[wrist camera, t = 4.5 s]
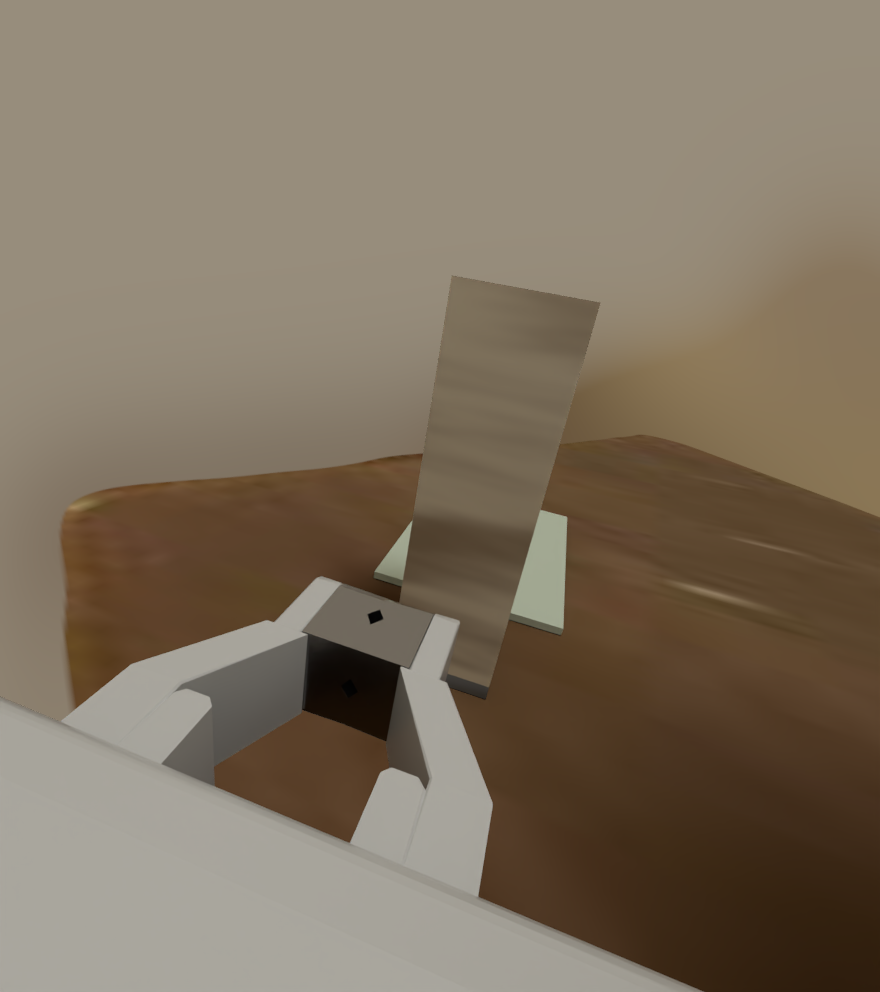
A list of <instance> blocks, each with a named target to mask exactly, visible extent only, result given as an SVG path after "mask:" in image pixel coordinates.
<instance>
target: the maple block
mask: <svg viewBox="0 0 880 992" xmlns="http://www.w3.org/2000/svg"><path fill="white" fill-rule="evenodd" d="M599 306H600V303H599V302H593V301H588V300H583V299H577V298H572V297H566V296H560V295H555V294H550V293H544V292H539V291H534V290H528V289H522V288H517V287H512V286H506V285H501V284H495V283H490V282H484V281H479V280H474V279H468V278H463V277H457V276H452V278H451V284H450V291H449V296H448V303H447V309H446V315H445V321H444V328H443V334H442V340H441V346H440V352H439V358H438V365H437V371H436V377H435V383H434V390H433V396H432V402H431V408H430V415H429V421H428V427H427V433H426V440H425V446H424V452H423V458H422V464H421V471H420V477H419V483H418V489H417V495H416V502H415V508H414V514H413V520H412V527H411V533H410V539H409V545H408V552H407V558H406V564H405V570H404V576H403V583H402V589H401V595H400V601H399V603H402V604H405V605H408V606H411V607H414V608H417V609H421V610H424V611H427V612H430V613H433V614H439V615H443V616H446V617H449V618H453V619H456V620H459V621H460V627H459V631H458V635H457V639H456V643H455V647H454V651H453V655H452V659H451V663H450V667H449V670H448V674H447V677H446V681H445V682H446V683H447V684H448V686H449V687H450V688H453V689H456V690H459V691H462V692H465V693H468V694H471V695H474V696H477V697H480V698H483V699H486V696H487V692H488V689H489V686H490V682H491V679H492V675H493V672H494V668H495V665H496V661H497V658H498V654H499V651H500V648H501V644H502V641H503V637H504V634H505V630H506V627H507V623H508V620H509V616H510V613H511V610H512V606H513V603H514V599H515V596H516V592H517V589H518V585H519V582H520V579H521V575H522V572H523V568H524V565H525V561H526V558H527V554H528V551H529V547H530V544H531V541H532V537H533V534H534V530H535V527H536V523H537V520H538V516H539V513H540V509H541V506H542V503H543V499H544V496H545V492H546V489H547V485H548V482H549V478H550V475H551V472H552V468H553V465H554V461H555V458H556V454H557V451H558V447H559V444H560V440H561V437H562V434H563V430H564V427H565V423H566V420H567V416H568V412H569V409H570V406H571V402H572V399H573V395H574V392H575V388H576V385H577V382H578V378H579V375H580V371H581V368H582V364H583V361H584V357H585V354H586V351H587V347H588V344H589V340H590V337H591V333H592V329H593V326H594V323H595V320H596V316H597V313H598V309H599Z"/></svg>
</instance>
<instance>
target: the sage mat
mask: <svg viewBox="0 0 880 992" xmlns="http://www.w3.org/2000/svg"><path fill="white" fill-rule="evenodd" d="M411 527H412V522H411V523H410V524H409V526H408V527H407V528H406V530H405V531H404V532H403V534H402V535H401V537H400V538H399V539H398V541H397V542H396V543H395V545H394V546H393V547H392V549H391V550H390V551H389V553H388V554H387V555H386V557H385V558H384V559H383V561H382V562H381V564H380V565H379V566H378V568H377V569H376V570H375V572H374V578H376V579H379V580H382V581H385V582H389V583H392V584H395V585H398V586H402V583H403V576H404V570H405V564H406V558H407V552H408V545H409V539H410V533H411ZM566 534H567V517H565V516H561V515H557V514H553V513H550V512H546V511H542V510H540V513H539V516H538V520H537V523H536V527H535V530H534V534H533V537H532V541H531V544H530V547H529V551H528V554H527V558H526V561H525V565H524V568H523V572H522V575H521V579H520V582H519V585H518V589H517V592H516V596H515V599H514V603H513V606H512V610H511V613H510V616H509V620H513V621H516V622H519V623H522V624H526V625H529V626H532V627H535V628H539V629H542V630H545V631H548V632H552V633H555V634H558V635H561V634H562V631H563V620H564V591H565V563H566Z"/></svg>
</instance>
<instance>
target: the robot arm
mask: <svg viewBox="0 0 880 992" xmlns="http://www.w3.org/2000/svg"><path fill="white" fill-rule="evenodd" d="M459 627H460V621H459V620H456V619H453V618H449V617H446V616H443V615H439V614H433V613H430V612H427V611H424V610H421V609H417V608H414V607H411V606H408V605H405V604H402V603H398V602H395V601H392V600H389V599H387V598H384V597H381V596H378V595H375V594H372V593H370V592H367V591H364V590H361V589H358V588H355V587H352V586H349V585H347V584H342V583H340V582H337V581H334V580H331V579H328V578H325V577H322V576H321V577H318V578H316V579H315V580H314V581H313V582H312V583H311V584H310V585H309V586H308V587H307V588H306V589H305V590H304V591H303V592H302V593H301V594H300V596H299V597H298V598H297V599H296V600H295V601H294V602H293V603H292V604H291V605H290V606H289V607H288V608H287V609H286V610H285V611H284V612H283V613H282V614H281V616H280V617H279V618H278V619H277V620H276V621H275V622H271V621H268V620H266V621H263V622H260V623H257V624H254V625H251V626H248V627H245V628H242V629H239V630H236V631H232V632H229V633H226V634H223V635H220V636H217V637H214V638H211V639H208V640H205V641H202V642H198V643H195V644H192V645H189V646H186V647H183V648H180V649H177V650H174V651H171V652H168V653H164V654H161V655H158V656H155V657H152V658H149V659H146V660H143V661H140V662H137V663H134V664H131V665H130V666H129V667H127V668H126V669H125V670H124V671H122V672H121V673H120V674H119V675H117V676H116V677H115V678H114V679H112V680H111V681H110V682H109V683H108V684H106V685H105V686H104V687H103V688H101V689H100V690H99V691H98V692H96V693H95V694H94V695H93V696H91V697H90V698H89V699H88V700H86V701H85V702H84V703H83V704H81V705H80V706H79V707H78V708H77V709H75V710H74V711H73V712H72V713H70V714H69V715H68V716H67V717H65V718H64V719H63V720H62V721H58V720H55V719H53V718H50V717H48V716H46V715H43V714H41V713H38V712H36V711H34V710H31V709H29V708H26V707H24V706H22V705H19V704H17V703H15V702H12V701H10V700H7V699H5V698H3V697H0V992H703V991H701V990H699V989H696V988H694V987H691V986H689V985H687V984H684V983H682V982H679V981H677V980H675V979H672V978H670V977H668V976H665V975H663V974H660V973H658V972H656V971H653V970H651V969H649V968H646V967H644V966H641V965H639V964H637V963H634V962H632V961H629V960H627V959H625V958H622V957H620V956H618V955H615V954H613V953H610V952H608V951H606V950H603V949H601V948H599V947H596V946H594V945H591V944H589V943H587V942H584V941H582V940H580V939H577V938H575V937H572V936H570V935H568V934H565V933H563V932H560V931H558V930H556V929H553V928H551V927H549V926H546V925H544V924H541V923H539V922H537V921H534V920H532V919H530V918H527V917H525V916H522V915H520V914H518V913H515V912H513V911H510V910H508V909H506V908H503V907H501V906H499V905H496V904H494V903H491V902H489V901H487V900H484V899H482V898H480V897H478V894H479V888H480V881H481V875H482V869H483V863H484V856H485V850H486V844H487V838H488V831H489V825H490V819H491V813H492V806H493V803H492V801H491V798H490V795H489V793H488V790H487V787H486V785H485V782H484V779H483V777H482V774H481V771H480V769H479V766H478V763H477V761H476V758H475V755H474V753H473V750H472V747H471V745H470V742H469V739H468V737H467V734H466V731H465V729H464V726H463V723H462V721H461V718H460V716H459V713H458V710H457V708H456V705H455V702H454V700H453V697H452V694H451V692H450V689H449V686H448V684H447V683H446V682H445V681H446V677H447V674H448V670H449V667H450V663H451V659H452V655H453V651H454V647H455V643H456V639H457V635H458V631H459ZM302 710H304V711H307V712H310V713H313V714H316V715H319V716H321V717H324V718H327V719H330V720H333V721H336V722H339V723H342V724H345V725H347V726H350V727H352V728H354V729H357V730H359V731H362V732H364V733H367V734H369V735H372V736H374V737H376V738H379V739H381V740H384V741H386V748H387V755H388V761H389V769H387V770H385V771H382V772H381V773H380V775H379V777H378V780H377V782H376V784H375V787H374V789H373V791H372V793H371V796H370V798H369V800H368V803H367V805H366V807H365V810H364V812H363V814H362V817H361V819H360V821H359V824H358V826H357V828H356V831H355V833H354V835H353V837H352V840H351V842H350V843H348V842H346V841H343V840H341V839H339V838H336V837H334V836H331V835H329V834H327V833H324V832H322V831H319V830H317V829H315V828H312V827H310V826H307V825H305V824H303V823H300V822H298V821H295V820H293V819H291V818H288V817H286V816H284V815H281V814H279V813H276V812H274V811H272V810H269V809H267V808H264V807H262V806H260V805H257V804H255V803H253V802H250V801H248V800H245V799H243V798H241V797H238V796H236V795H234V794H231V793H229V792H226V791H224V790H222V789H219V788H217V787H215V786H214V766H216V765H217V764H219V763H220V762H222V761H224V760H225V759H227V758H229V757H230V756H232V755H233V754H235V753H237V752H238V751H240V750H242V749H243V748H245V747H247V746H248V745H250V744H251V743H253V742H255V741H256V740H258V739H260V738H261V737H263V736H264V735H266V734H268V733H269V732H271V731H273V730H274V729H276V728H278V727H279V726H281V725H282V724H284V723H286V722H287V721H289V720H291V719H292V718H294V717H295V716H297V715H299V714H300V713H302Z"/></svg>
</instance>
